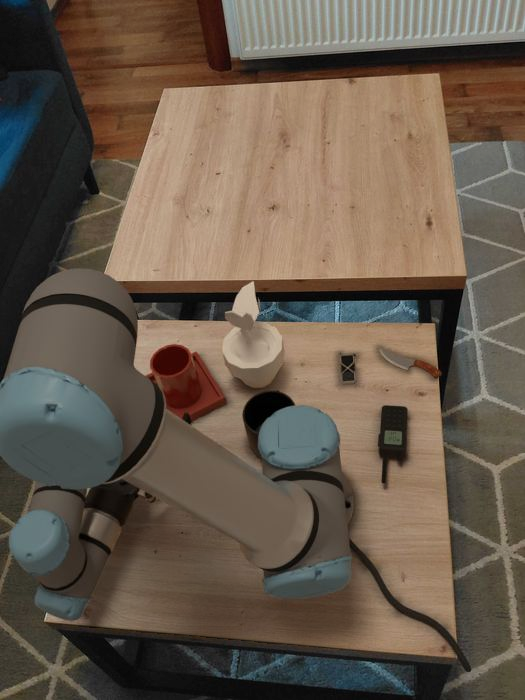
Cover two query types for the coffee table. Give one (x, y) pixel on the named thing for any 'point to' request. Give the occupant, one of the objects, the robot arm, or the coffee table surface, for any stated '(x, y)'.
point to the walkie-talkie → (392, 435)
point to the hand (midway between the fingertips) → (154, 410)
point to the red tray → (209, 396)
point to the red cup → (176, 375)
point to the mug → (262, 413)
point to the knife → (410, 363)
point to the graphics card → (348, 368)
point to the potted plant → (251, 342)
